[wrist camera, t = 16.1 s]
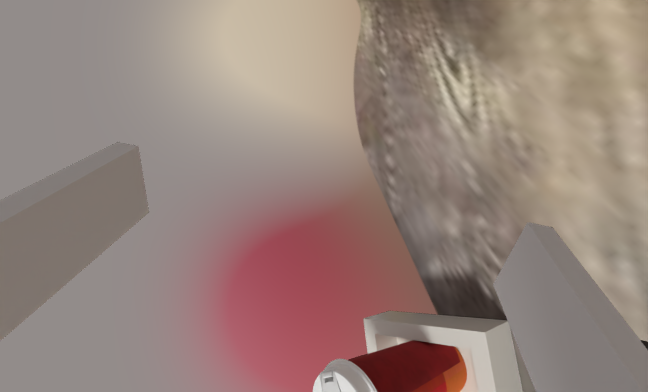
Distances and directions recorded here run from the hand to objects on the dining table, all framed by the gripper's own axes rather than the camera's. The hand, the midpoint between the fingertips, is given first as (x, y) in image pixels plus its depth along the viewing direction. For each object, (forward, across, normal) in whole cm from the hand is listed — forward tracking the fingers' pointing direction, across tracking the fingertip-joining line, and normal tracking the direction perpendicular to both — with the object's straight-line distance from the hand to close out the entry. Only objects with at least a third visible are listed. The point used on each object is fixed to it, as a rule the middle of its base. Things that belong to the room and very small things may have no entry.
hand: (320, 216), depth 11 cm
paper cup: (+13, +14, -24) cm, 30 cm away
